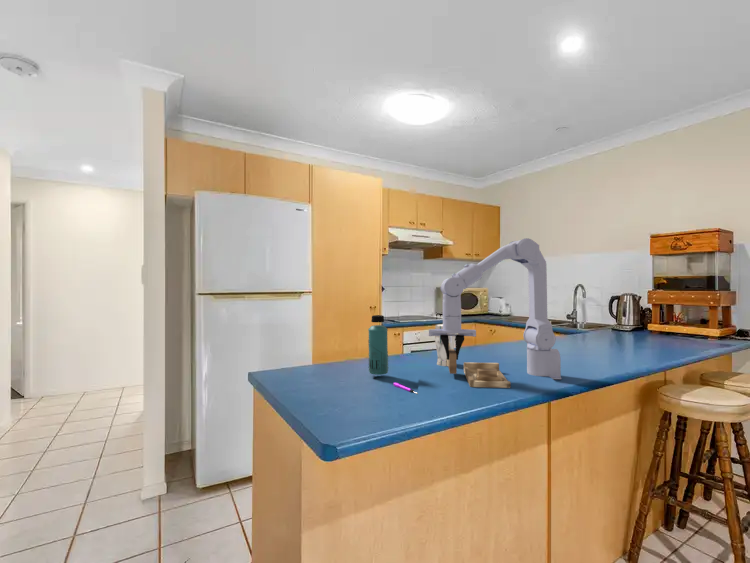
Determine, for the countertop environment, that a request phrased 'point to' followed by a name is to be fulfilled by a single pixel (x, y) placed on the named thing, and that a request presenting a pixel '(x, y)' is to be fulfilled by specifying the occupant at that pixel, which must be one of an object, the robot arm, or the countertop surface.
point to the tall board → (452, 362)
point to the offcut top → (486, 372)
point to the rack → (471, 373)
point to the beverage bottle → (378, 347)
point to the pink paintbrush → (404, 387)
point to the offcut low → (488, 378)
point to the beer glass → (440, 347)
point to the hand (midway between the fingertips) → (452, 359)
